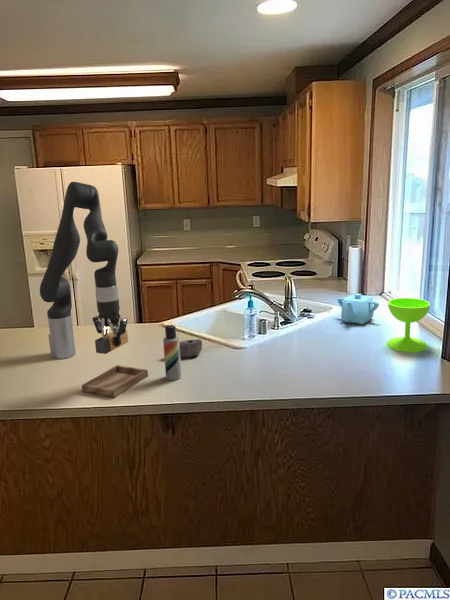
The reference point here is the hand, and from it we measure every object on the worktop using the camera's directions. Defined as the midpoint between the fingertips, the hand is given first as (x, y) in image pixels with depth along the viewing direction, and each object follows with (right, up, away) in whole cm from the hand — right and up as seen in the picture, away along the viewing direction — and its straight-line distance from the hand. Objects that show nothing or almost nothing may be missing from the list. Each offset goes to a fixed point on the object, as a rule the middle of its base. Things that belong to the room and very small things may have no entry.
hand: (112, 345), depth 181 cm
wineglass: (+114, -3, +29) cm, 118 cm away
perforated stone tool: (+23, -8, +27) cm, 37 cm away
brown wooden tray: (+1, -14, +4) cm, 15 cm away
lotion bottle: (+21, -13, +7) cm, 26 cm away
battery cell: (0, -1, 0) cm, 1 cm away
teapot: (+102, +5, +63) cm, 120 cm away
